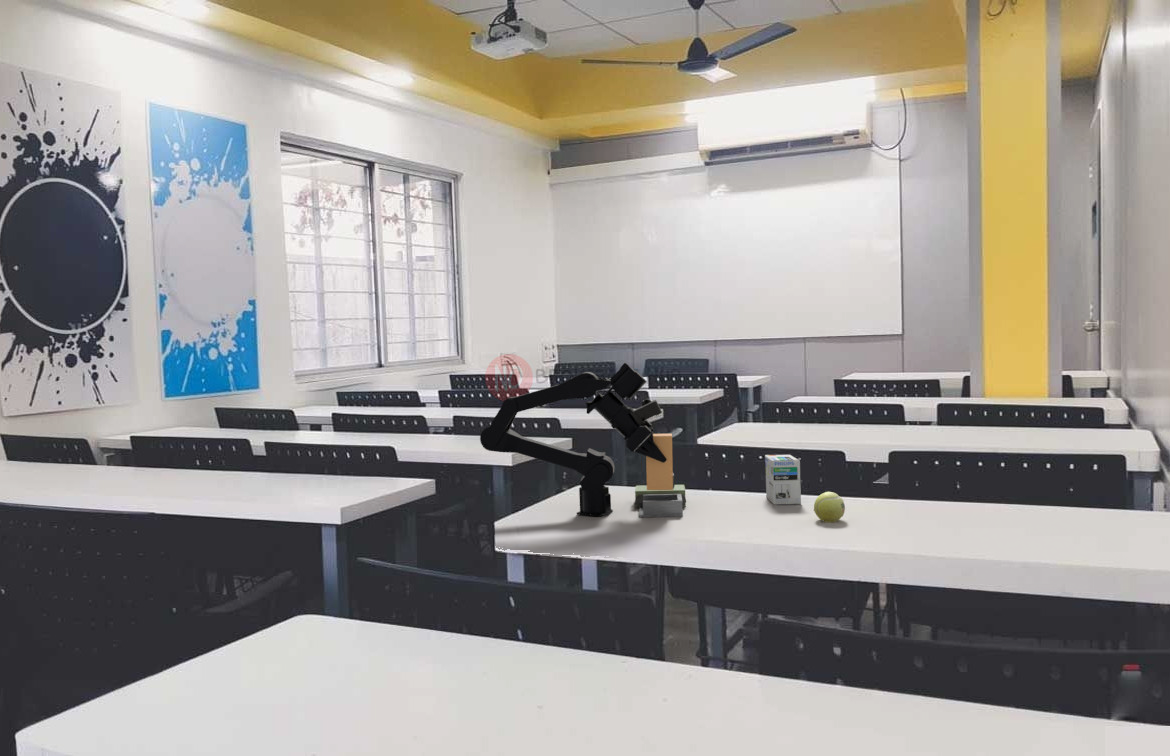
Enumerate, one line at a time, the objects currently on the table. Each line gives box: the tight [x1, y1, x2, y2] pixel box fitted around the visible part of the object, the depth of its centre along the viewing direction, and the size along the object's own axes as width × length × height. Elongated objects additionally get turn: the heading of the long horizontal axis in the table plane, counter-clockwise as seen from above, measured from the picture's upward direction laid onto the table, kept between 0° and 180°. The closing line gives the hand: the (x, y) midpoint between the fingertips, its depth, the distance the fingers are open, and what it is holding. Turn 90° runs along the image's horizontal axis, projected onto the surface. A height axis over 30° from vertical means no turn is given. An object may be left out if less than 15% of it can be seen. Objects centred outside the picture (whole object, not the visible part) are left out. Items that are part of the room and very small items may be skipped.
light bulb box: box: [764, 454, 802, 505], centre depth 220 cm, size 11×7×11 cm, turn 179°
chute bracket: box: [638, 494, 684, 518], centre depth 211 cm, size 10×10×4 cm
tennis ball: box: [813, 491, 846, 523], centre depth 196 cm, size 6×7×7 cm
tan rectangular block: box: [645, 433, 674, 490], centre depth 210 cm, size 6×5×12 cm
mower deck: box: [634, 472, 687, 509], centre depth 221 cm, size 12×10×7 cm
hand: (665, 459), depth 210 cm, fingers closed on tan rectangular block, 5 cm apart
